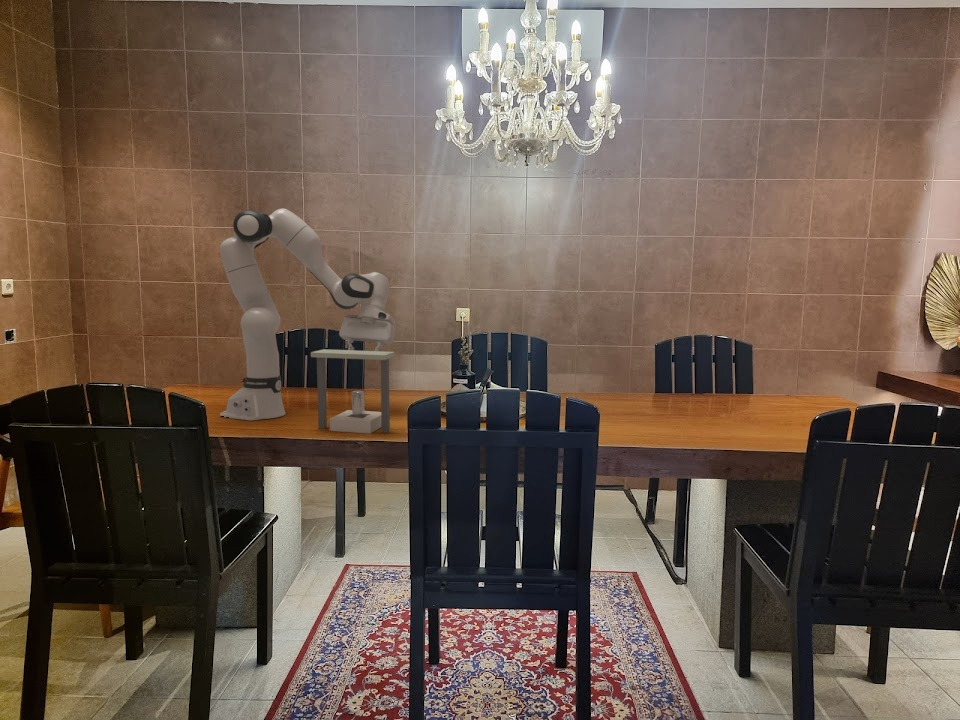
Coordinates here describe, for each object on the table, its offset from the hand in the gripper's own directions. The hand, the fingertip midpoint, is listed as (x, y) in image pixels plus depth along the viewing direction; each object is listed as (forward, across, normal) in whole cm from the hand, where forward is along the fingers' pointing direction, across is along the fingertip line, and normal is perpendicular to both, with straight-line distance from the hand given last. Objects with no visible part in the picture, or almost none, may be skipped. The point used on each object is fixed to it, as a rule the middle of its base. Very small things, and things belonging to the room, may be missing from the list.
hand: (362, 352), depth 228 cm
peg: (+27, +8, -6) cm, 29 cm away
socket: (+27, +8, -6) cm, 29 cm away
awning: (+29, +8, -9) cm, 31 cm away
